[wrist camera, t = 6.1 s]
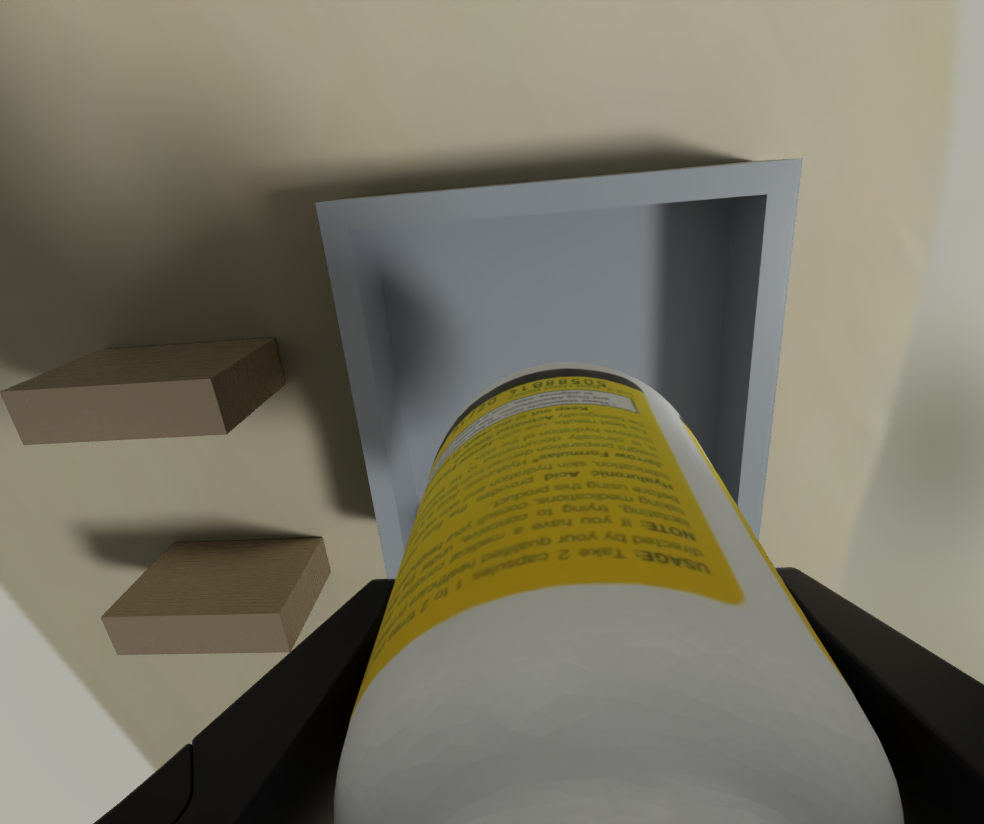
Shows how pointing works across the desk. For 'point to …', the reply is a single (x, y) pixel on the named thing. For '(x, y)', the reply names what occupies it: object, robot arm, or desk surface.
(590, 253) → the tray
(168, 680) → the desk surface
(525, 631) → the supplement bottle
